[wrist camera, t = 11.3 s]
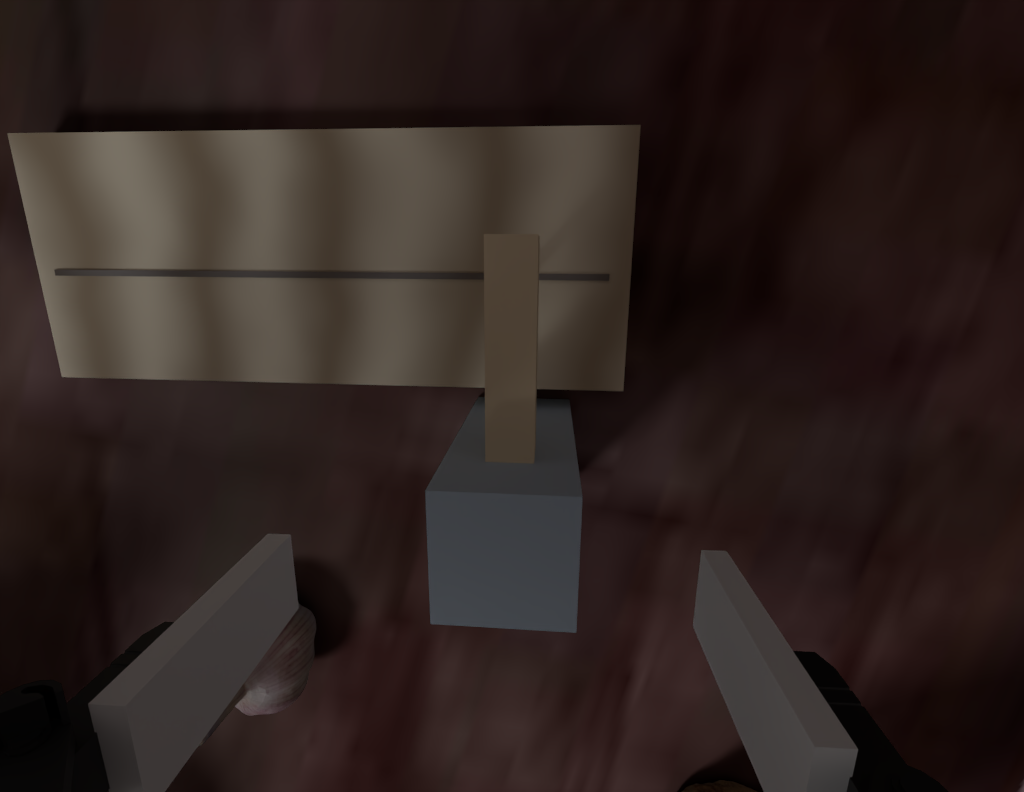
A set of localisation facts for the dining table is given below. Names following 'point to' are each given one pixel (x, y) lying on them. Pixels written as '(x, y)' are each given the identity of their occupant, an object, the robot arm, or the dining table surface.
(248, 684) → the garlic bulb
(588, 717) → the dining table surface
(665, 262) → the dining table surface
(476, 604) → the hammer
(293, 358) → the board
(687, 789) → the stone
